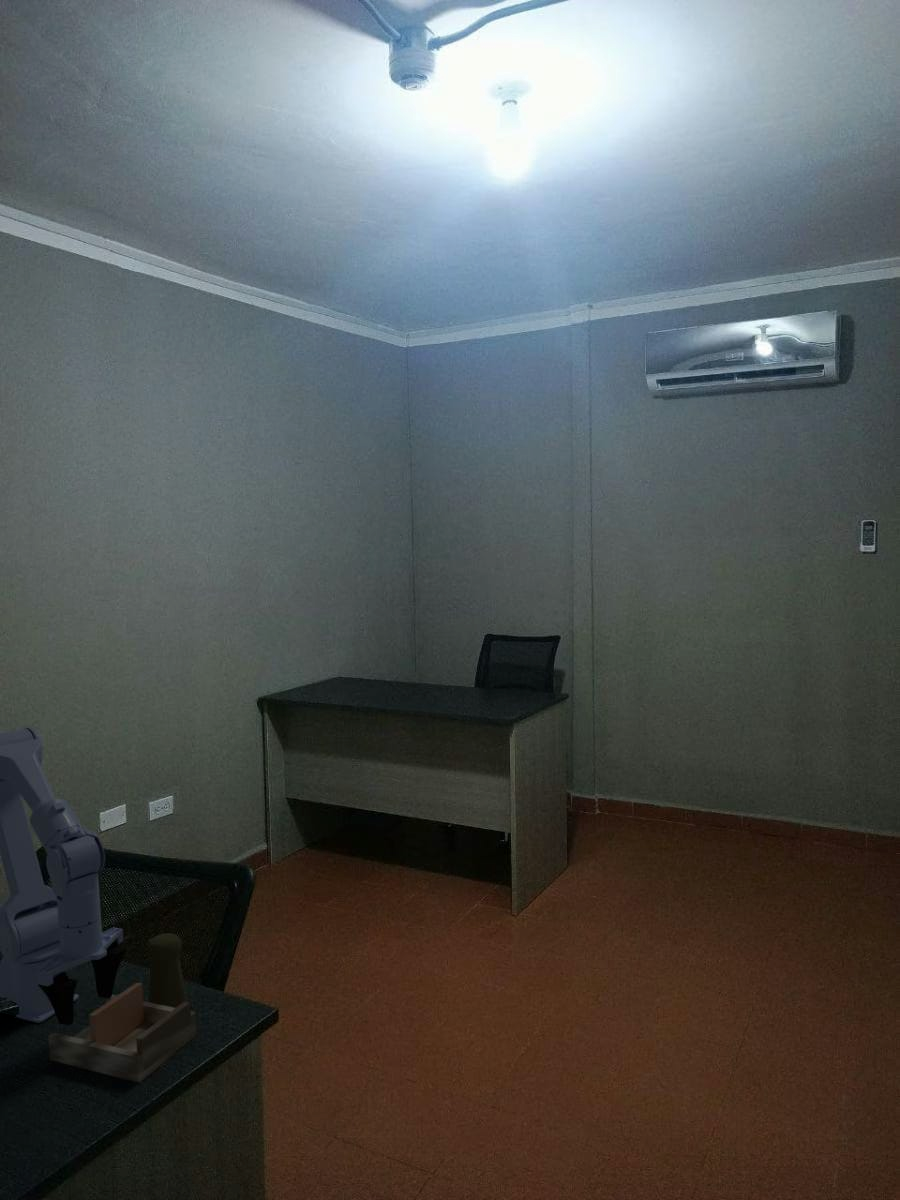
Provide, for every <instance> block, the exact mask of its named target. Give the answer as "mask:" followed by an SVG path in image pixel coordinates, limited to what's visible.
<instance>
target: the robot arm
mask: <svg viewBox="0 0 900 1200" xmlns="http://www.w3.org/2000/svg"><path fill="white" fill-rule="evenodd" d="M42 761H43V743H42V739H41V736H40V735H39V733H38V732H37V731H36V730H35V729H34V728H33V727H31V726H29V727H24V728H23V729H17V730H13V731H6V732H1V733H0V858H1V863H2V867H3V870H4V875H5V879H6V881H7V886H8V890H9V893H10V896H9V897H8V899H6V902H5V903H4V904H2V907H1V908H0V952H1V955H2V956H3V957H2V958H1V960H0V997H2V998H7V999H8V1000H11V1001H13V1002H15V1003H16V1004H17V1005H18V1006H19V1014H17V1015H16V1017H18V1018H17V1019H20V1018H21V1019H22V1020H25V1021H30V1022H33V1023H37V1024H39V1023H42V1022H44V1021H45V1020H47V1019H49V1018H50V1017H52V1016H53V1015H55V1016H56V1019H57V1022H58V1024H60V1025H63V1026H64V1025H65V1026H71V1025H72V1024H73V1022H74V1016H75V1015H74V1002H75V1001H77V1000H78V999H79V998H80V996H79V994H76V993H75V992H76V988H77V984H78V980H77V979H73V978H69V975H67V973H68V972H70V971H71V970H74V968H76V967H78V966H80V965H82V964H85V963H88V962H91V964H92V968H93V971H94V978H95V986H96V993H97V996H98V998H105V999H106V998H108V999H109V998H110V997H112V995H113V991H114V988H115V987H114V986H115V981H116V978H117V973H118V971H119V967H120V964H121V962H122V960H123V958H124V956H125V954H126V948H125V946H122V945H119V944H121V943H122V942H124V931H123V928H119V927H113V926H112V927H110V928H109V929H107V930H105V931H103V930H102V929H103V927H102V915H101V914H102V913H101V900H100V897H101V896H100V888H99V887H100V884H99V872H102V871H103V870H104V867H105V864H106V854H105V848H104V846H103V843H102V841H101V839H100V837H99V836H98V834H96V833H95V832H91V831H90V830H89V828H83V826H82V825H81V823H80V822H79V819H78V818H77V816H76V815H75V813H74V811H73V809H72V808H71V806H70V805H69V803H68V802H67V800H65V799H61V798H56V796H55V794H54V792H53V789H52V788H51V785H50V783H49V780H48V779H47V776H46V773H45V772H44V769H43V767H42ZM23 800H24V802H25V803H26V805H28V807H29V808H30V810H31V811H32V812H31V815H30V817H29V822H28V817H27V814H26V810H25V806H24V803H23ZM29 824H30V826H31V827H32V830H33V831H34V833H35V834H36V837H37V838H38V840H39V842H40V843H41V845H42V847H43V849H44V850H45V852H46V854H47V855H46V860H45V863H46V868H47V872H48V875H49V878H50V881H51V887H50V886H48V885H45V882H44V880H43V875H42V872H41V871H42V870H41V867H40V864H39V860H38V856H37V852H36V848H35V845H34V844H35V843H34V841H33V837H32V833H31V829H30V826H29ZM42 906H43V907H42ZM37 907H38V908H37ZM39 907H40V908H39ZM35 908H37V909H35ZM31 909H35V910H32V911H29V910H31ZM26 911H29V912H26ZM22 912H25V913H22ZM19 913H22V914H21V915H17V914H19ZM16 915H17V916H16ZM16 1017H15V1018H16Z"/></svg>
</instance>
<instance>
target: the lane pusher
mask: <svg viewBox="0 0 900 1200" xmlns="http://www.w3.org/2000/svg"><path fill="white" fill-rule="evenodd" d="M143 994H144V993H143V983H140V982H136V983H134V984H132V985H131V986H129V987H128V988H126V989H125V990H124V991H122V992H121V993H119V994H117V995H116V997H115V998H113V999H112V1000H110V1001H109V1002H107V1003H106V1002H105V1004H103V1005H101V1006H100V1007H98V1008H97V1009H95V1010H94V1011H92V1012H91V1013H90V1014H88V1017H89V1026H90V1036H91V1041H92V1042H96V1043H101V1044H105V1045H109V1046H112V1045H114V1044H115V1043H116V1042H118V1041H119V1040H120V1039H122V1038H123V1037H125V1036H126V1035H127V1034H129V1033H130V1032H131V1031H133V1030H134V1029H135V1028H137V1027H138V1026H139V1025H141V1024H142V1023H143V1022H144V1006H143V1001H144V995H143Z"/></svg>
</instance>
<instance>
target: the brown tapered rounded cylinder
mask: <svg viewBox="0 0 900 1200" xmlns="http://www.w3.org/2000/svg"><path fill="white" fill-rule="evenodd" d="M181 951H182V941H181V938H180V937H179V936H178V935H177V934H175V933H161V934H158V935H155V936H154V937H152V938H151V939H150V940H149V941H148V943H147V945H146V955H147V957H148V959H149V960H150V973H149V983H148V985H149V986H148V997H147V998H148V1000H147V1002H150V1003H154V1004H159V1005H164V1006H169V1007H173V1008H177V1007H178V1006H179V1005H180V1004H182V1003H183V1002H184V1001H186V1002H188V996H187V992H186V987H185V982H184V977H183V972H182V966H181V962H180V958H179V956H180V954H181Z"/></svg>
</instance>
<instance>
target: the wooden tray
mask: <svg viewBox="0 0 900 1200" xmlns="http://www.w3.org/2000/svg"><path fill="white" fill-rule="evenodd" d="M116 996H117V995H116V994H112V997H110V998H109V999H108V998H105V1000H106V1001H105V1004H106V1003H107V1002H109V1001H110V1000H112V999H113V998H115V997H116ZM143 1006H144V1022H143V1023H142V1024H141V1025H139V1026H138V1027H137V1028H135V1029H134V1030H133V1031H131V1032H130V1033H129V1034H127V1035H126V1036H125V1037H123V1038H122V1039H120V1040H119V1041H118V1042H116V1043H115V1044H114V1045H112V1046H109V1045H105V1044H101V1043H96V1042H92V1041H91V1036H90V1025H88V1026H87V1027H85V1028H84V1029H82V1030H81V1031H80V1032H78V1033H77V1034H75V1035H74V1036H72V1035H67V1034H63V1033H58V1032H55V1031H54V1032H52V1033H51V1034H49V1035H48V1047H49V1050H48V1051H49V1060H50V1061H52V1062H57V1063H60V1064H65V1065H69V1066H72V1067H77V1068H81V1069H84V1070H89V1071H93V1072H96V1073H99V1074H104V1075H107V1076H111V1077H116V1078H118V1079H119V1078H120V1079H124V1080H127V1081H131V1082H135V1083H138V1082H139V1083H141V1082H142V1081H144V1080H145V1079H146V1078H147V1077H149V1075H151V1074H152V1073H153V1072H154V1071H155V1070H156V1069H158V1068H159V1067H160V1066H161V1065H162V1064H164V1063H165V1062H166V1061H167V1060H169V1057H170V1058H171V1057H173V1055H174V1053H175V1054H176V1053H177V1052H178V1051H179V1050H181V1049H182V1048H183V1047H185V1045H186V1044H188V1043H189V1042H191V1040H193V1039H194V1038H195V1037H196V1036H198V1034H197V1032H198V1031H197V1018H196V1016H197V1015H196V1012H195V1011H192V1009H191V1008H192V1007H191V1002H189V1001H187V1002H186V1001H184V1002H183V1003H182V1004H180V1005H179V1006H178V1007H177V1008H173V1007H169V1006H164V1005H159V1004H154V1003H150V1002H148V1001H144V1000H143ZM187 1042H188V1043H187ZM181 1047H182V1048H181ZM180 1048H181V1049H180ZM177 1050H178V1051H177ZM176 1051H177V1052H176ZM145 1077H146V1078H145Z"/></svg>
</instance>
